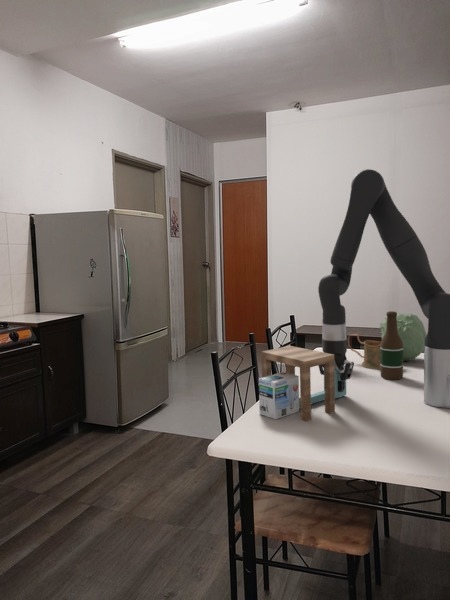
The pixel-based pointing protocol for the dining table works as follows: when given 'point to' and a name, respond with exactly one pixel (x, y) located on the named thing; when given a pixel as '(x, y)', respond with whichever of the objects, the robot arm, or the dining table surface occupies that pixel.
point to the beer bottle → (391, 350)
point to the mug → (369, 353)
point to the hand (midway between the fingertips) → (335, 389)
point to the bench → (304, 373)
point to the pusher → (321, 395)
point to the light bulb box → (279, 395)
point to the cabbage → (409, 334)
